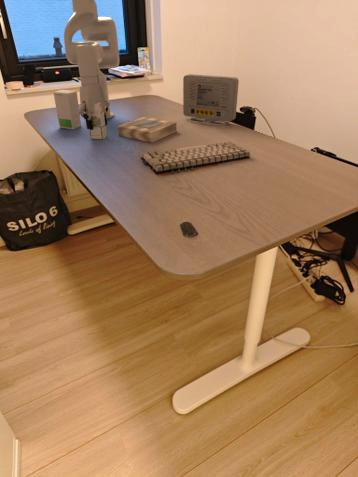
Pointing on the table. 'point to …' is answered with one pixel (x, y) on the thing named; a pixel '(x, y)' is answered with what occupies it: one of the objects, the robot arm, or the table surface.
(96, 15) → the robot arm
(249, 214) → the table surface
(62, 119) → the skincare box
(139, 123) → the birch platform
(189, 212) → the table surface
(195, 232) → the block
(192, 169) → the mechanical keyboard
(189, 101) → the network device
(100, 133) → the syrup box
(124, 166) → the table surface
